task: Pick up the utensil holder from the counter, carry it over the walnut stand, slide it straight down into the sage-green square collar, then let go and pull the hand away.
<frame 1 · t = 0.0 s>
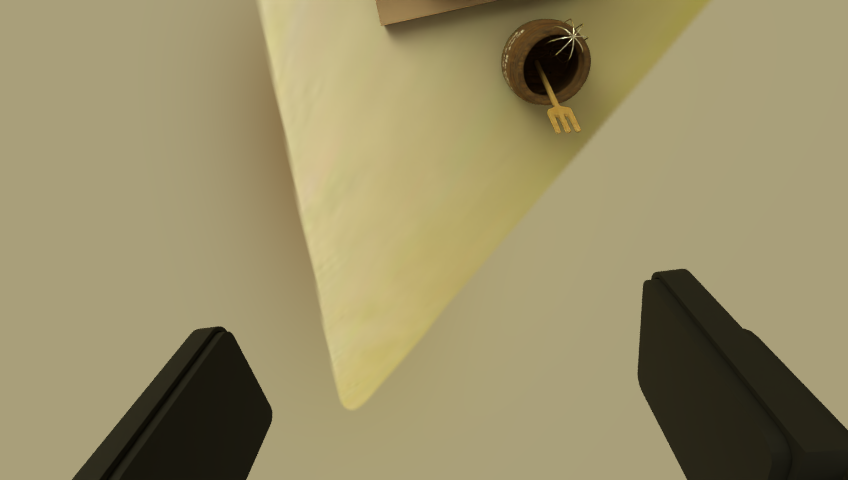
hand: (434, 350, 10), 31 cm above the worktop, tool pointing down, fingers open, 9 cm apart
utensil holder: (534, 60, 35), on the worktop
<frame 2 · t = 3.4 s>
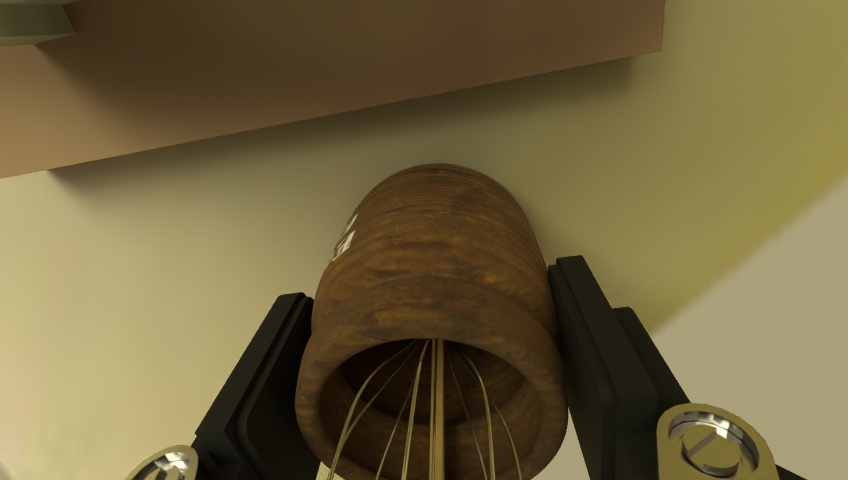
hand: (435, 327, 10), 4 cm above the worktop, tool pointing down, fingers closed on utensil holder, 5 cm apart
utensil holder: (439, 244, 14), on the worktop, touching gripper
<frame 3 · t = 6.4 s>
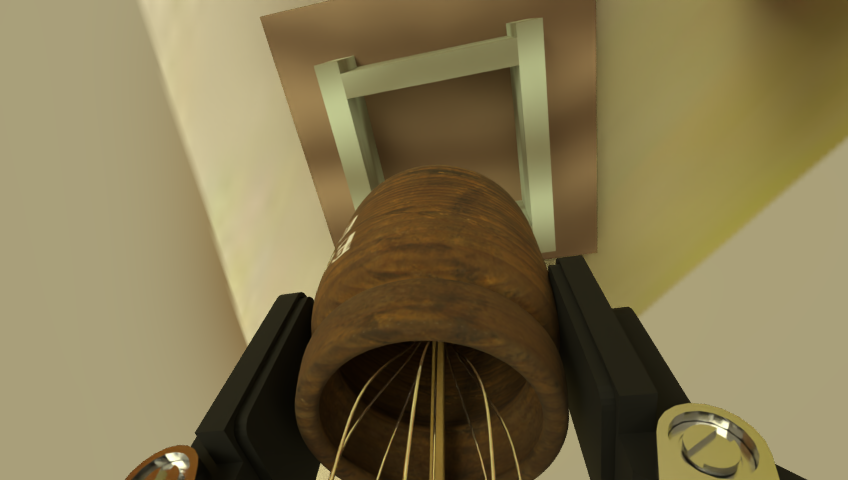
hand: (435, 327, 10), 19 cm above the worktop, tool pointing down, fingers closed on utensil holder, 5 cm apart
collar stand: (446, 141, 27), on the worktop
utensil holder: (439, 245, 14), point 15 cm above the worktop, touching gripper
when the fingers open (7 cm above the worktop, at t = 9.6 s): utensil holder drops 1 cm, resting on collar stand.
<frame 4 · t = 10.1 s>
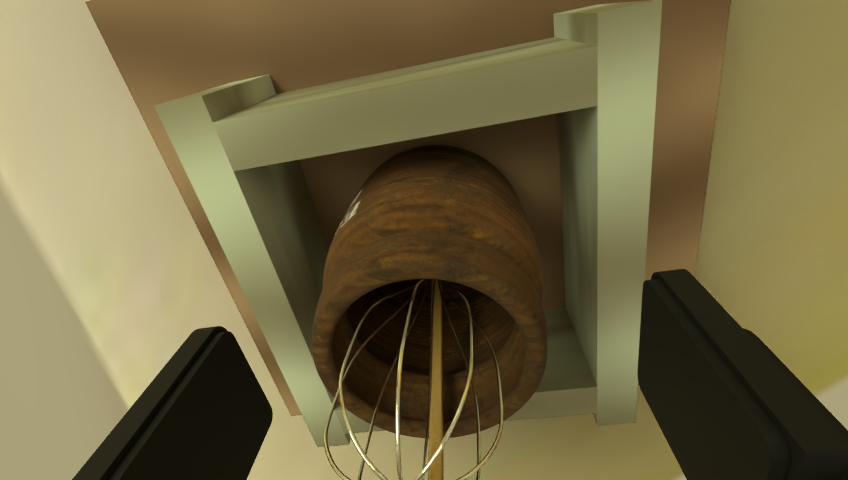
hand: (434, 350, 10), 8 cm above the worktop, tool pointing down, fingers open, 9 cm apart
collar stand: (440, 210, 16), on the worktop
utensil holder: (437, 221, 15), point 1 cm above the worktop, touching collar stand
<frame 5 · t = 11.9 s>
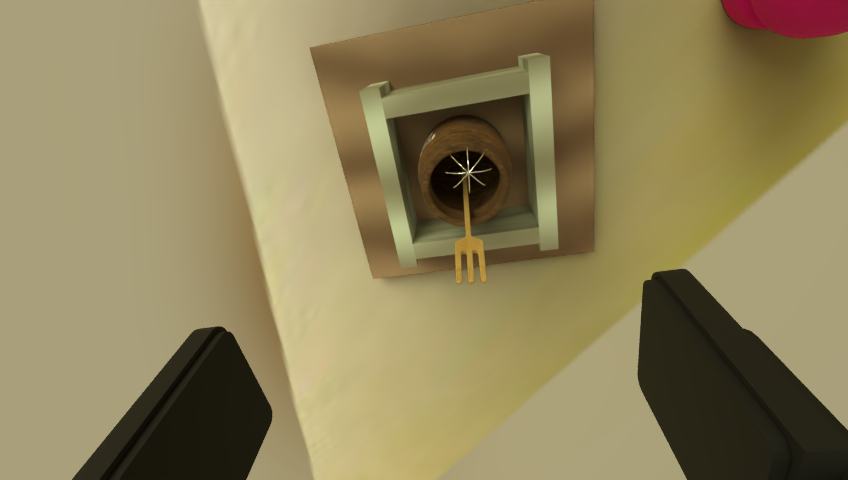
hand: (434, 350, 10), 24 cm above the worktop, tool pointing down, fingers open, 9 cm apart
collar stand: (464, 153, 31), on the worktop
utensil holder: (463, 155, 30), point 1 cm above the worktop, touching collar stand
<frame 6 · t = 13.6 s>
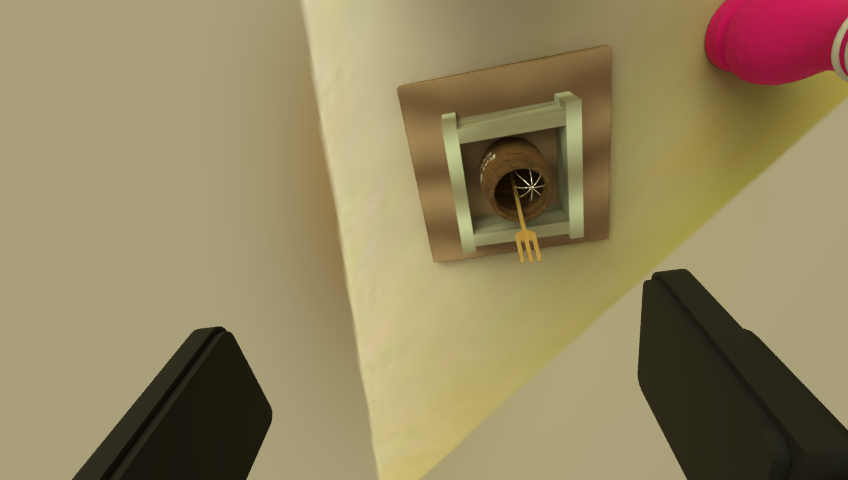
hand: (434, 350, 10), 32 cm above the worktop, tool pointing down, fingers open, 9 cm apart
collar stand: (508, 164, 40), on the worktop
utensil holder: (509, 166, 39), point 1 cm above the worktop, touching collar stand
pepper mill: (743, 30, 34), on the worktop
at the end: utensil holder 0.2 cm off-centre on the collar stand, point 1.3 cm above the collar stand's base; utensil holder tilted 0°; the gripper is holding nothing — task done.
